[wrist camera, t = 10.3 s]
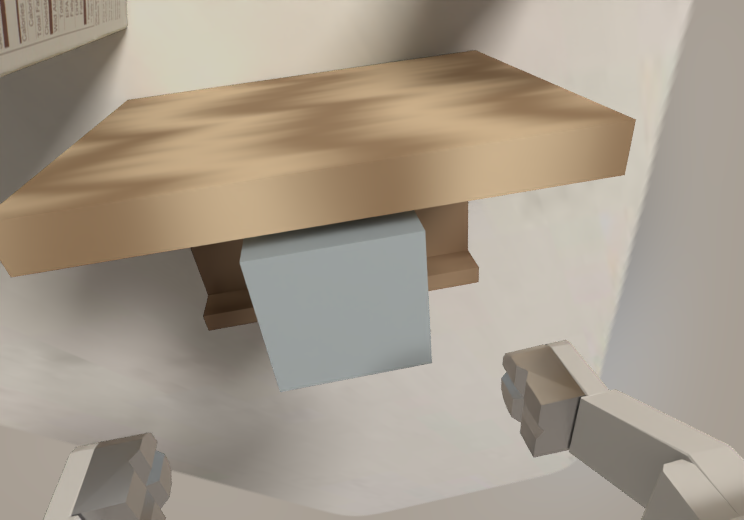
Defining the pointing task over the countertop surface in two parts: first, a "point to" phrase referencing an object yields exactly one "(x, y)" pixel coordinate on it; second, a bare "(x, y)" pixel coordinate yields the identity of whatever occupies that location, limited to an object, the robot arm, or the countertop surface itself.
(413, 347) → the cabinet box
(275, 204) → the wall board
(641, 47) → the countertop surface
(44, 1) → the supplement box
